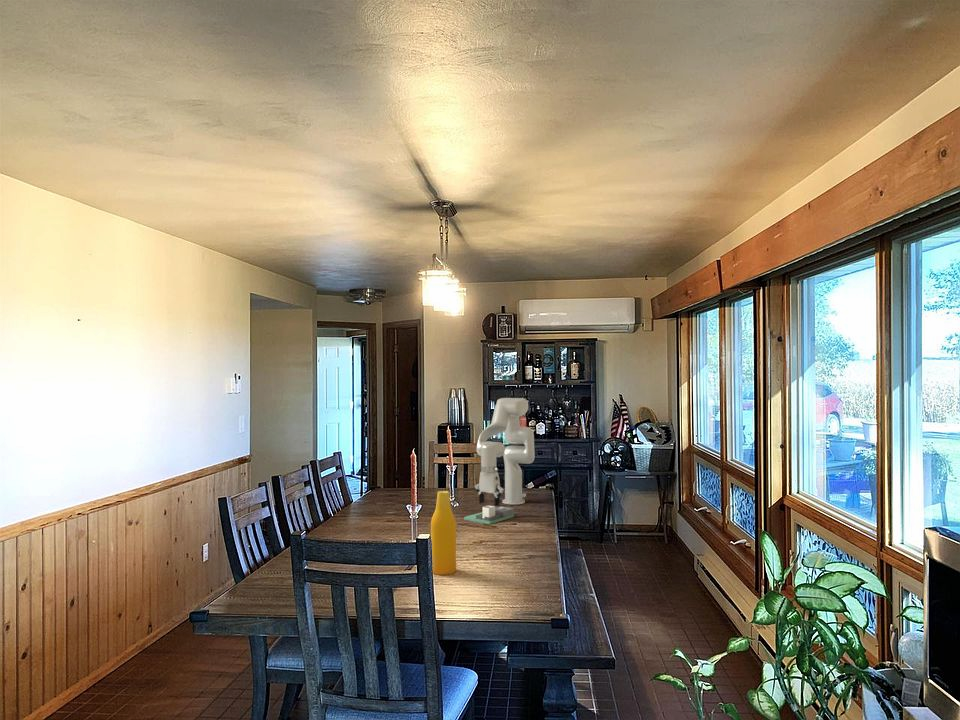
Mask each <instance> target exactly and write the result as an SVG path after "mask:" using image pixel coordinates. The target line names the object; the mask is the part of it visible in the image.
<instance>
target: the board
mask: <svg viewBox="0 0 960 720" xmlns="http://www.w3.org/2000/svg"><path fill="white" fill-rule="evenodd" d="M479 514H483V511H481V512H477V513H474V514H469V515H467V516H464V517H463V520H465V521H471V522H475V523H480V524H486V525H491V524H495V523H499V522H501V521H505V520H508V519H511V518H514V517H515V514H514V515H511V516H507V517H502V518H499V519H495V520H492V521H486V520H484V519H482V520H481V519H476V515H479Z"/></svg>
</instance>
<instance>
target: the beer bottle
mask: <svg viewBox="0 0 960 720" xmlns="http://www.w3.org/2000/svg"><path fill="white" fill-rule="evenodd" d="M436 494H437V496H436V505H435V510H434V513H433V515H432V517H431V522H430V541H431V540H432V555H433V573H432V574H433V575H438V576H446V575H453V574H455V572H456V570H457V540H456V539H457V522H456V517H455V513H454V512H453V510H452V508H451V507H452V505H451V499H450V492H449V491H448V490H440V491H439V490H438V491H437V493H436Z"/></svg>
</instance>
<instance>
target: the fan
mask: <svg viewBox="0 0 960 720" xmlns="http://www.w3.org/2000/svg"><path fill="white" fill-rule="evenodd" d="M495 513H497V514H502V517H507V516H511V515H514V516H515V508H513V507H506V506H499V507H498V506H497V507H495Z"/></svg>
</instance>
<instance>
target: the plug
mask: <svg viewBox="0 0 960 720" xmlns="http://www.w3.org/2000/svg"><path fill="white" fill-rule="evenodd" d="M495 508H496V506H495V505H489V504H488V505H484V506H482V512H483V517H492V516H495Z"/></svg>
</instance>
